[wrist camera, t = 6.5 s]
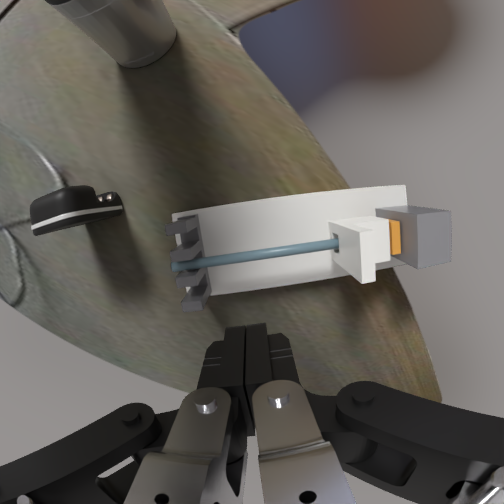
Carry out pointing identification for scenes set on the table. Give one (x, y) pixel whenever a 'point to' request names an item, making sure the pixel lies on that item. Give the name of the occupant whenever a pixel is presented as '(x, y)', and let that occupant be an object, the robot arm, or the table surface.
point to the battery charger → (72, 208)
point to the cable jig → (294, 240)
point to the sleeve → (361, 245)
